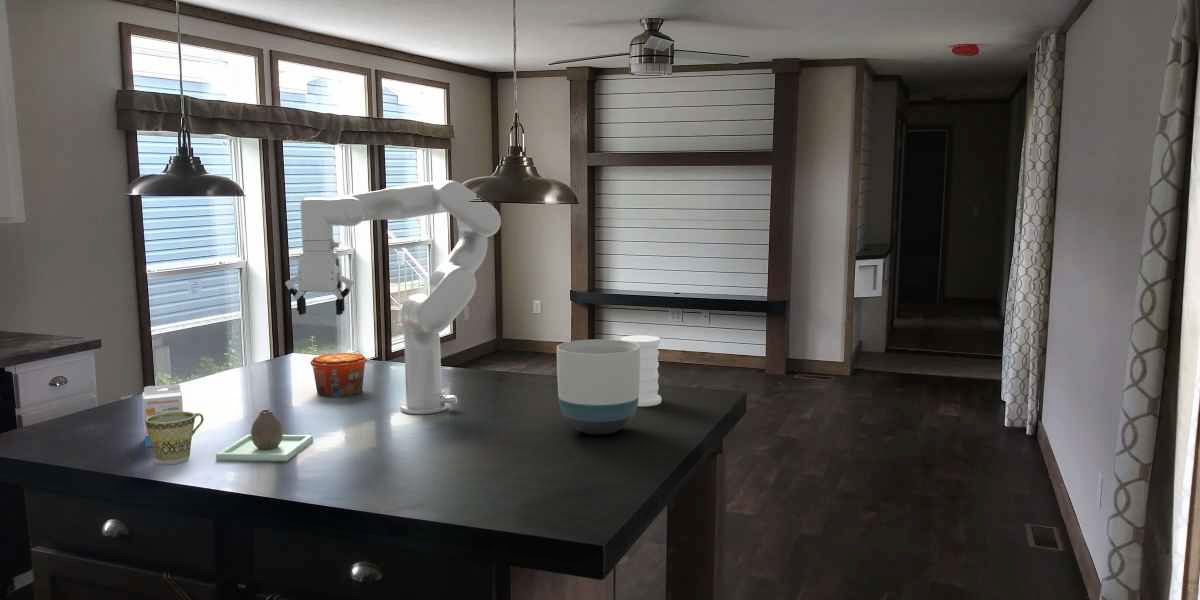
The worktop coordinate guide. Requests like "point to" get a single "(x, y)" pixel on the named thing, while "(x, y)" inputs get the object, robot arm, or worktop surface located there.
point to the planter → (598, 384)
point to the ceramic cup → (172, 435)
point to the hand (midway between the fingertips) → (321, 314)
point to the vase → (266, 431)
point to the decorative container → (647, 368)
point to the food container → (339, 374)
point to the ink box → (160, 403)
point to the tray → (250, 452)
